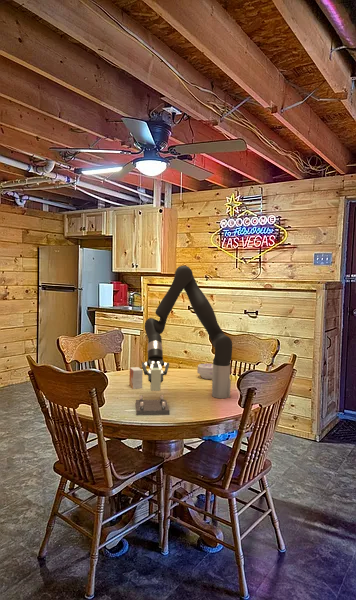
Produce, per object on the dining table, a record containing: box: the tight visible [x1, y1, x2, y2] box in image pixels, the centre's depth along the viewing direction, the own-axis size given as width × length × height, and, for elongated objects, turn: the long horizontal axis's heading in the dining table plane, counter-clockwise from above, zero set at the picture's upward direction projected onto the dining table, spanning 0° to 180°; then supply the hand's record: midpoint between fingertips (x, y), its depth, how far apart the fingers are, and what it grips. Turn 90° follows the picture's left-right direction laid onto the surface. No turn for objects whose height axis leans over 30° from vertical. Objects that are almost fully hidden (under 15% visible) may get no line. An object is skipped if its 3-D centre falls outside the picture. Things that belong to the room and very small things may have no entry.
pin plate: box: [135, 394, 170, 416], centre depth 199 cm, size 15×17×5 cm
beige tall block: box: [150, 368, 162, 392], centre depth 200 cm, size 4×5×10 cm
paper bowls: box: [196, 363, 213, 380], centre depth 266 cm, size 15×15×8 cm
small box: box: [128, 366, 144, 390], centre depth 239 cm, size 8×6×10 cm
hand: (155, 381), depth 199 cm, fingers closed on beige tall block, 4 cm apart
